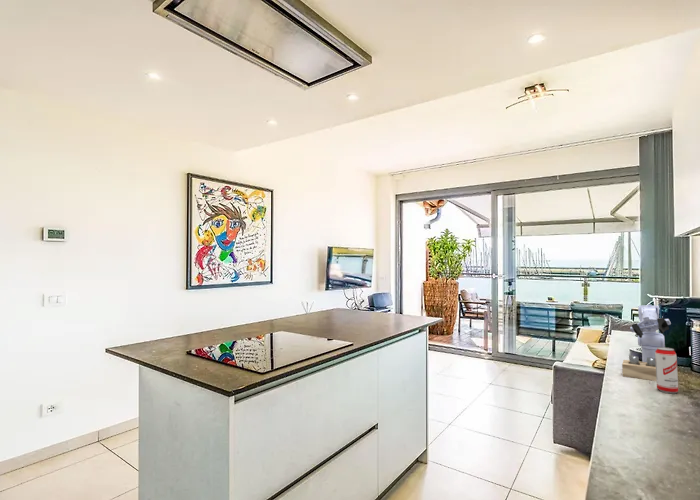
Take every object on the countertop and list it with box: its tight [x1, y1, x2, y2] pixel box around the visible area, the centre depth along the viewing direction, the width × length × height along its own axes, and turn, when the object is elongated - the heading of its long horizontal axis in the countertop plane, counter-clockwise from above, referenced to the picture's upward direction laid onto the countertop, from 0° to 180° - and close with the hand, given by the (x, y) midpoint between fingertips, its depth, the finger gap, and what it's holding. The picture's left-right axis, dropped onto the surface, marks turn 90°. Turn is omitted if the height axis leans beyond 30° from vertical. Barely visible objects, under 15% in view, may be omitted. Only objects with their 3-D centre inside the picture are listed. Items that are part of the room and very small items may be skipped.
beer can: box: [655, 346, 679, 394], centre depth 143 cm, size 6×6×16 cm
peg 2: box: [647, 357, 656, 367], centre depth 160 cm, size 3×3×5 cm
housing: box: [621, 359, 657, 382], centre depth 163 cm, size 11×13×5 cm
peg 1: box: [628, 355, 640, 365], centre depth 164 cm, size 3×3×5 cm
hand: (650, 333), depth 160 cm, fingers open, 7 cm apart
